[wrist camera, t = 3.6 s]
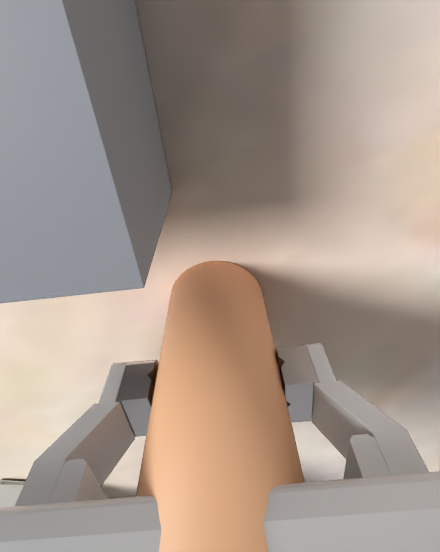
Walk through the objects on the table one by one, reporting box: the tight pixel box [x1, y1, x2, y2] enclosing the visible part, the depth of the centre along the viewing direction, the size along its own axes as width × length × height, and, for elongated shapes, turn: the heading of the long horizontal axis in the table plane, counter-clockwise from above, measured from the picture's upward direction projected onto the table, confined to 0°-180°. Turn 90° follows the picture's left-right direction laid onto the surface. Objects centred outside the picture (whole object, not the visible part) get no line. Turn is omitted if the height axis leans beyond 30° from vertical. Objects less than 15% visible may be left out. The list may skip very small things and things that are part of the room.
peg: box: [136, 261, 305, 552], centre depth 10 cm, size 4×4×10 cm
